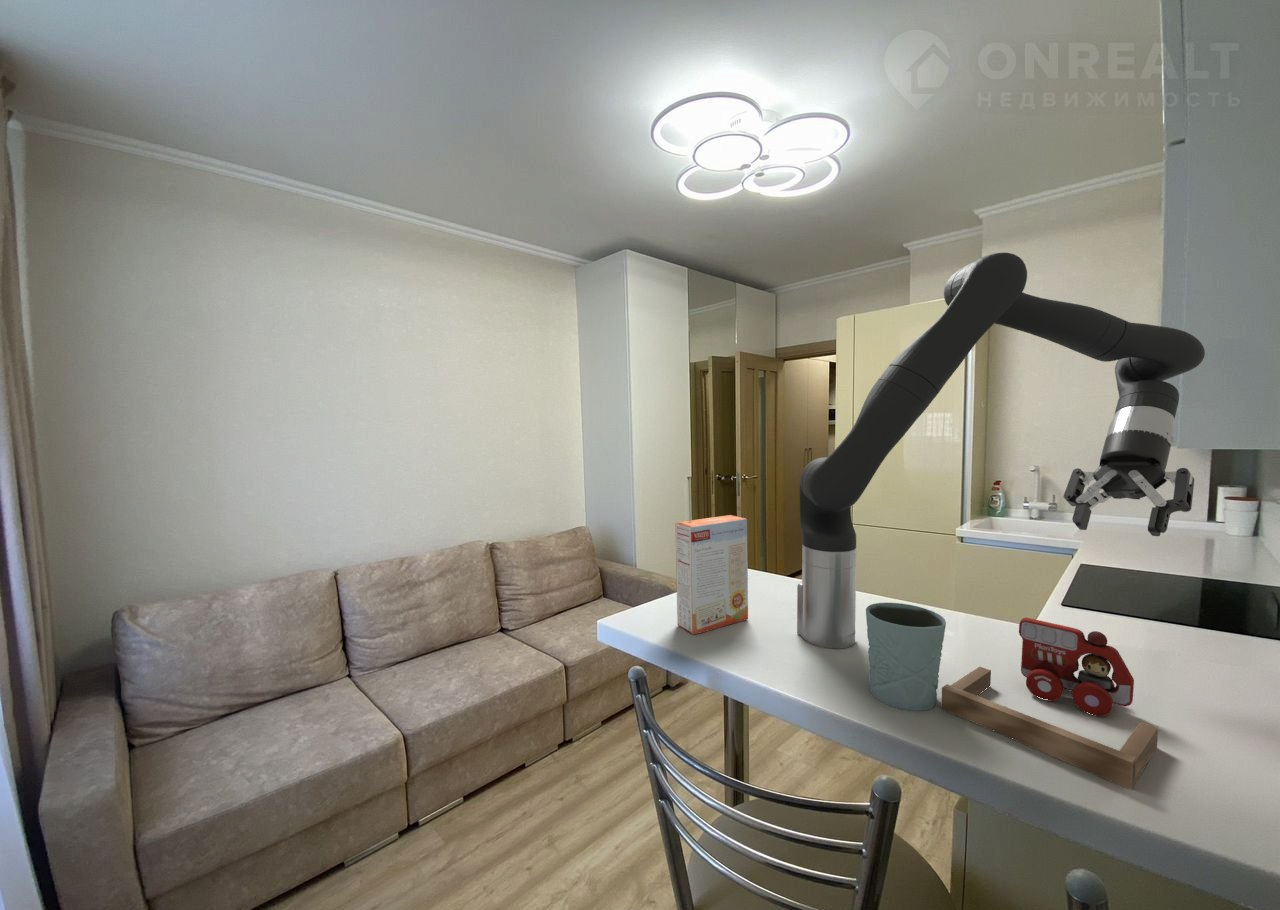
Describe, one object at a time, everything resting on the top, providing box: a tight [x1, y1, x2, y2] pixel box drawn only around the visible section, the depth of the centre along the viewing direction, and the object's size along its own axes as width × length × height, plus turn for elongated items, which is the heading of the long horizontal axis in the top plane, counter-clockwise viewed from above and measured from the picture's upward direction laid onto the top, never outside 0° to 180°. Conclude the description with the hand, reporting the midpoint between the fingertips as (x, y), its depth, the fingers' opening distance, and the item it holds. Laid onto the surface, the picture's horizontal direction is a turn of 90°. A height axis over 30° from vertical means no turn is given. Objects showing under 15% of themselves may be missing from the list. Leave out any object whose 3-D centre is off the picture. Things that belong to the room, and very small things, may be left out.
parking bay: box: [941, 666, 1159, 790], centre depth 64 cm, size 19×12×3 cm, turn 35°
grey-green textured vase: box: [865, 602, 947, 712], centre depth 72 cm, size 10×10×12 cm
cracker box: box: [674, 514, 749, 635], centre depth 99 cm, size 14×6×21 cm, turn 120°
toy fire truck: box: [1018, 617, 1135, 717], centre depth 71 cm, size 7×12×10 cm, turn 43°
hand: (1115, 530), depth 76 cm, fingers open, 8 cm apart
